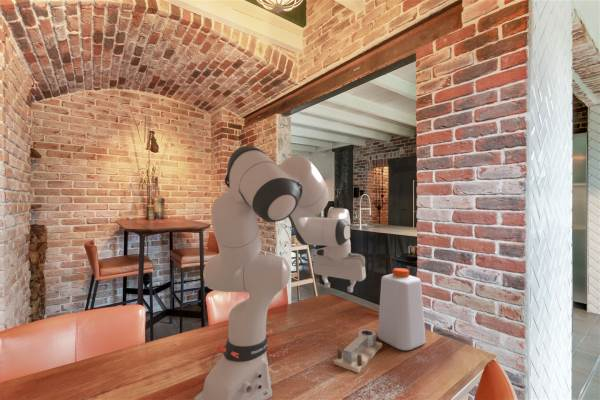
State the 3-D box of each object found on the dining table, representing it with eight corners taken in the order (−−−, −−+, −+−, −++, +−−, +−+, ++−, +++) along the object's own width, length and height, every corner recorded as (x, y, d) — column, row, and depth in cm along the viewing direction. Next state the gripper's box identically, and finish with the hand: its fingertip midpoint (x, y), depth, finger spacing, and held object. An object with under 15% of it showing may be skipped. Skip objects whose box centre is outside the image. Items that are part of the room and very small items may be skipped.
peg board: (358, 373, 92) (358, 359, 92) (333, 363, 98) (333, 351, 98) (381, 346, 109) (381, 335, 109) (359, 339, 115) (359, 329, 115)
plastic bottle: (398, 328, 124) (397, 263, 125) (430, 343, 112) (429, 270, 112) (373, 337, 116) (372, 268, 116) (404, 354, 104) (404, 276, 104)
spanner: (355, 366, 94) (355, 354, 94) (339, 360, 98) (338, 348, 98) (378, 342, 110) (377, 332, 110) (362, 338, 113) (362, 327, 113)
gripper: (368, 253, 103) (368, 292, 102) (319, 248, 115) (319, 283, 115) (361, 255, 98) (361, 296, 97) (311, 250, 110) (311, 286, 109)
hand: (338, 289), depth 106 cm, fingers open, 8 cm apart
